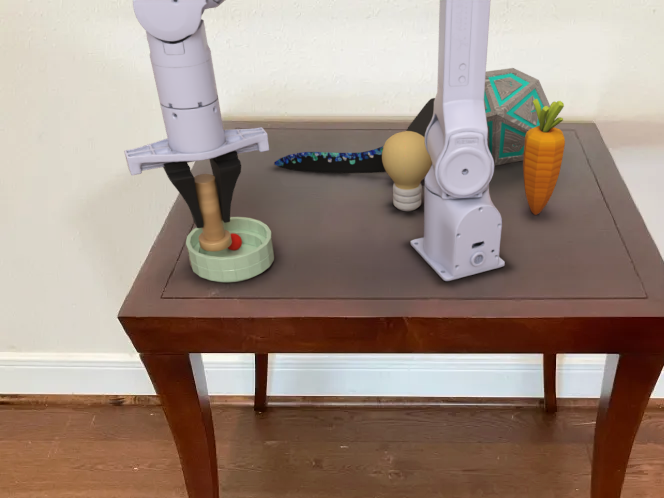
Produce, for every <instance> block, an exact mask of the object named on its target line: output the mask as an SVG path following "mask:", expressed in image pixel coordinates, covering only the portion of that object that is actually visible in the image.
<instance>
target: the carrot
mask: <svg viewBox="0 0 664 498" xmlns="http://www.w3.org/2000/svg"><path fill="white" fill-rule="evenodd" d="M533 104H534V106H535V109H536V113H537V116H538V120H539V124H540V126H537V127H534V128H532V129H530V130H529V131H527V133H526V136H525V144H524V159H523V161H522V168H523V169H522V172H523V187H524V192H525V197H526V201H527V205H528V207H529V209H530V212H531V213H532V214H533V215H534V216H537V215H539V214H540V213H542V211H543V210H544V209H545V207H546V206H547V205H548V203H549V201H550V199H551V197H552V195H553V194H554V193H553V192H554V190H555V188H556V185H557V182H558V179H559V176H560V172H561V167H562V162H563V157H564V151H565V146H566V145H565V144H566V139H565V136H564V132H563V131H562V130H561V128H558V127H557V126H558V125H559V124H560V123H562V122H564V118H563V117H558V116H559V115H560V113H561V111H563V109H564V107H565V104H564V102H563V101H561V100H557V101H555V100H554V101H552V102H551V103H550V107H548V106H545V107H543V108H542V111H541V106H540V103H539V101H538V99H535V100H534V101H533ZM545 119H546V122H545Z"/></svg>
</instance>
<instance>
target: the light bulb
mask: <svg viewBox="0 0 664 498" xmlns="http://www.w3.org/2000/svg"><path fill="white" fill-rule="evenodd" d="M382 162H383V166H384V168H385V170H386V172H385V173H386V174H387V175H388V177H389V178H390V179H391V180H392V181H393V184H392V204H393V206H394V207H395V208H397V209H398V210H400V211H403V212H412V211H415V210H417V209H418V208H420V206H421V205H422V195H423V194H422V189H423V185H422V183H421V182H422V181H423V179H425V176H426V175H427V173H428V172H429V170H430V168H431V165H432V161H431V157H430V155H429V153H428V152H427V149H426V146H425V138H424V137H423V136H422V135H420V134H418V133H416V132H412V131H406V130H403V131H399V132H396V133H394V134H393V135H391V136H389V137H388V138H387V139H386V141H385V143H384V145H383V151H382Z"/></svg>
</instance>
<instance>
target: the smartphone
mask: <svg viewBox="0 0 664 498" xmlns="http://www.w3.org/2000/svg"><path fill="white" fill-rule="evenodd" d="M434 100H435V97H432V98H430V99H429V100H428V101H427V102H426V103H425V105H424V106H423V107H422V108H421V109H420V111H419V112H418V113H417V114H416V116H415V117H414V119H413V120H412V121H411V122H410V124H409V125H408V127H407V129H406V130H405V131H412V132H416V133H418V134H420V135H422V136H423V137H424V138H425V132H426V129H427V127H428V125H429V123H430V122H431V120H432V117H433V111H434Z"/></svg>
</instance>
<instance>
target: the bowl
mask: <svg viewBox="0 0 664 498" xmlns="http://www.w3.org/2000/svg"><path fill="white" fill-rule="evenodd" d="M223 225H224V229H225V230H227V231H229V232H230V234H232V233H234V234H237V235H239V236H240V237H241V239H242V245H241V247H240V248H239V249H238V250H230V249H228V248H226V249H224V250H221V251H214V252H212V251H206V250H203V249H202V248H201V247H200V244H199V239H198V238H199V235H200V234H201V233H202V232H203V231H202V228H197V227H194V228H192V230H191V231H190V232H189V233H188V234H187V236H186V239H185V248H186V253H187V257H188V261H189V265H190V267H191V269H192V272H193V273H194V274H196V275H197V276H198V277H199V278H202V279H205V280H207V281H211V282H216V283H237V282H243V281H247V280H249V279H252V278H255V277H256V276H258V275H261V274H262V273H263V272H265V271H266V270H267V269H269V268H270V267H271V266H272V264H273V262H274V261H275V249H274V242H273V234H272V230H271V229H270V227H269V226H268V224H266V223H264V222H263V221H261V220H259V219H255V218H252V217H245V216H230V222H227V223H224V222H223Z"/></svg>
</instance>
